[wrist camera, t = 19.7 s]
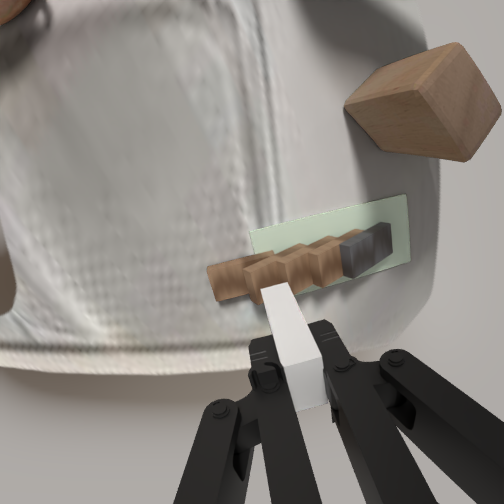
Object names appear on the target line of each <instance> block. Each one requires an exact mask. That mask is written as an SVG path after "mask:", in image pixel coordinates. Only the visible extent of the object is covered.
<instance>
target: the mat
mask: <svg viewBox="0 0 504 504" xmlns="http://www.w3.org/2000/svg"><path fill="white" fill-rule="evenodd" d="M379 222H385V223H391V234H392V247H393V253H392V254H391V255H389V256H388V257H386V258H385V259H383V260H382V261H380V262H379V263H377V264H376V265H374V266H373V267H371V268H370V269H368V270H367V271H365V272H364V273H362V274H361V275H359V276H358V277H356V278H359V277H362V276H366V275H369V274H372V273H376V272H379V271H382V270H385V269H388V268H392V267H395V266H398V265H401V264H404V263H407V262H410V261H411V258H410V236H409V220H408V208H407V198H406V194H402V195H397V196H393V197H389V198H384V199H380V200H376V201H371V202H367V203H363V204H359V205H354V206H350V207H346V208H342V209H338V210H334V211H329V212H325V213H321V214H317V215H313V216H309V217H305V218H301V219H297V220H293V221H289V222H285V223H281V224H277V225H273V226H269V227H265V228H261V229H257V230H253V231H249V233H250V237H251V241H252V245H253V249H254V253H255V254H259V253H263V252H266V251H270V250H273V251H274V254H277V253H279V252H281V251H283V250H285V249H287V248H290V247H292V246H294V245H296V244H298V243H301V244H305V245H309V244H311V243H314V242H316V241H318V240H320V239H322V238H324V237H326V236H328V235H329V236H333V237H339V236H341V235H343V234H345V233H347V232H349V231H351V230H353V229H360V230H366V229H368V228H370V227H372V226H374V225H376V224H378V223H379ZM356 278H355V279H356ZM349 280H352V279H351V278H348V277H345V276H342V277H341V278H339V279H337V280H336V281H334V282H332V283H331V284H329V285H327V286H326V287H328V286H332V285H335V284H339V283H342V282H346V281H349ZM324 288H325V287H324ZM318 289H321V287H319V286H316V285H311V286H310V287H308V288H306V289H304V290H302V291H301V292H299V293H297V294H295V295H294V296H296V295H300V294H304V293H307V292H311V291H314V290H318Z"/></svg>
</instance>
